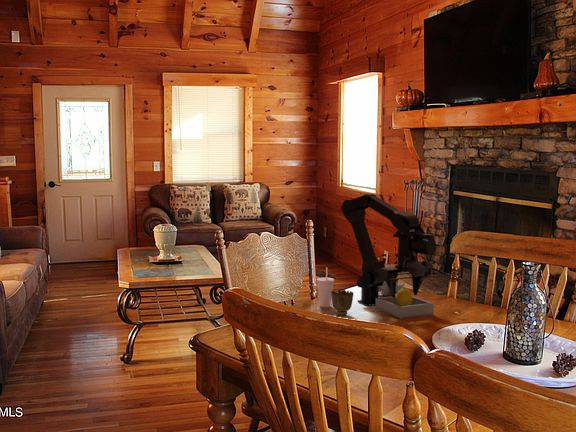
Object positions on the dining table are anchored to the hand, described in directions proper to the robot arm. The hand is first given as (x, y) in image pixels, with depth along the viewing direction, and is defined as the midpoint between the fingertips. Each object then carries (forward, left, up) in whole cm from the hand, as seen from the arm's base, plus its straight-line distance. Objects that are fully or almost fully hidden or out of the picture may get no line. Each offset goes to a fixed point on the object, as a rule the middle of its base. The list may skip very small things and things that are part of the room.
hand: (404, 296), depth 212 cm
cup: (-5, -22, -6) cm, 23 cm away
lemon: (0, 0, -5) cm, 5 cm away
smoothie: (-18, -21, -6) cm, 28 cm away
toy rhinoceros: (-21, +10, -6) cm, 24 cm away
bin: (0, 0, -6) cm, 6 cm away
